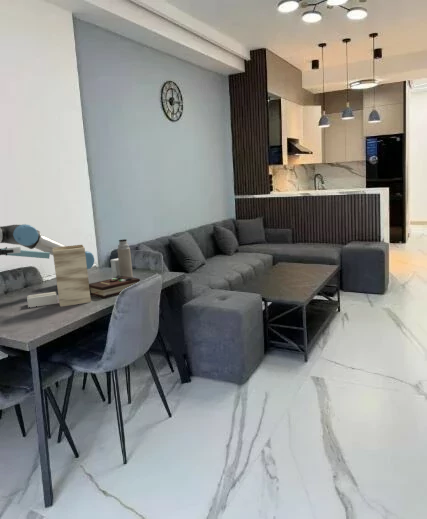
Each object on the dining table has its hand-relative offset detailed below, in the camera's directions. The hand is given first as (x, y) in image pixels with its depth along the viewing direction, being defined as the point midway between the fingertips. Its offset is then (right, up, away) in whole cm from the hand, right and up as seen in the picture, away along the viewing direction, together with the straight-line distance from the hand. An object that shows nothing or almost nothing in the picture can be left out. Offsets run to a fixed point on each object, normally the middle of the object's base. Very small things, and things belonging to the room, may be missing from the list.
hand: (20, 249), depth 235 cm
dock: (+9, -30, +8) cm, 32 cm away
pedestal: (+27, -29, +6) cm, 40 cm away
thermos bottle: (+47, -20, +50) cm, 72 cm away
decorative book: (+45, -25, +26) cm, 57 cm away
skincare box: (+41, -19, +57) cm, 73 cm away
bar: (+2, -4, +1) cm, 4 cm away
